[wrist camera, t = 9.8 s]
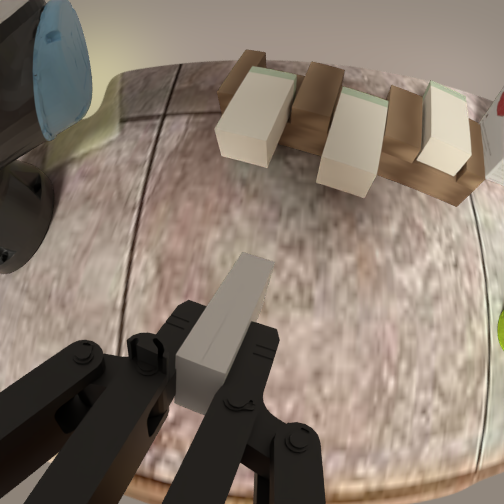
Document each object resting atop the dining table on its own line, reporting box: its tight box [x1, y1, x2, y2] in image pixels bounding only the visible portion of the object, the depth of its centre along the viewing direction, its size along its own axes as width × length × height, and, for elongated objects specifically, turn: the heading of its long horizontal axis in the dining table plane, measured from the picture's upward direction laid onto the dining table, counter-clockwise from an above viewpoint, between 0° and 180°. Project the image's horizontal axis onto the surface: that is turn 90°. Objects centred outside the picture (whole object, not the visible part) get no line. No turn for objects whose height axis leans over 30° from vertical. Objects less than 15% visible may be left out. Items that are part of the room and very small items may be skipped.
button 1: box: [416, 81, 472, 176], centre depth 26 cm, size 4×9×4 cm, turn 160°
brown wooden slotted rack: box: [217, 50, 485, 207], centre depth 30 cm, size 28×8×6 cm, turn 70°
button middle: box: [316, 87, 388, 198], centre depth 26 cm, size 4×9×4 cm, turn 160°
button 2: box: [215, 66, 297, 168], centre depth 27 cm, size 4×9×4 cm, turn 160°
